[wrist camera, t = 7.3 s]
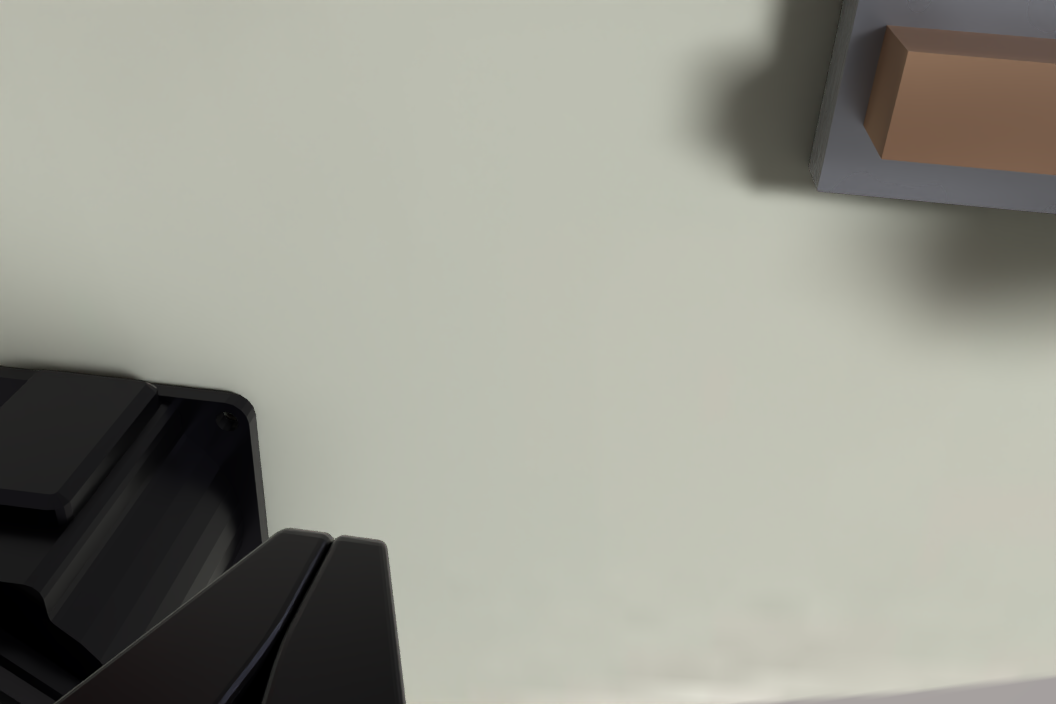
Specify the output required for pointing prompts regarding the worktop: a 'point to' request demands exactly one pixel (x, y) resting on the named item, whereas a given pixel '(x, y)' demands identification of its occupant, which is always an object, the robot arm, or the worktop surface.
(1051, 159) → the beam
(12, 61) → the worktop surface
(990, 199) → the plate
